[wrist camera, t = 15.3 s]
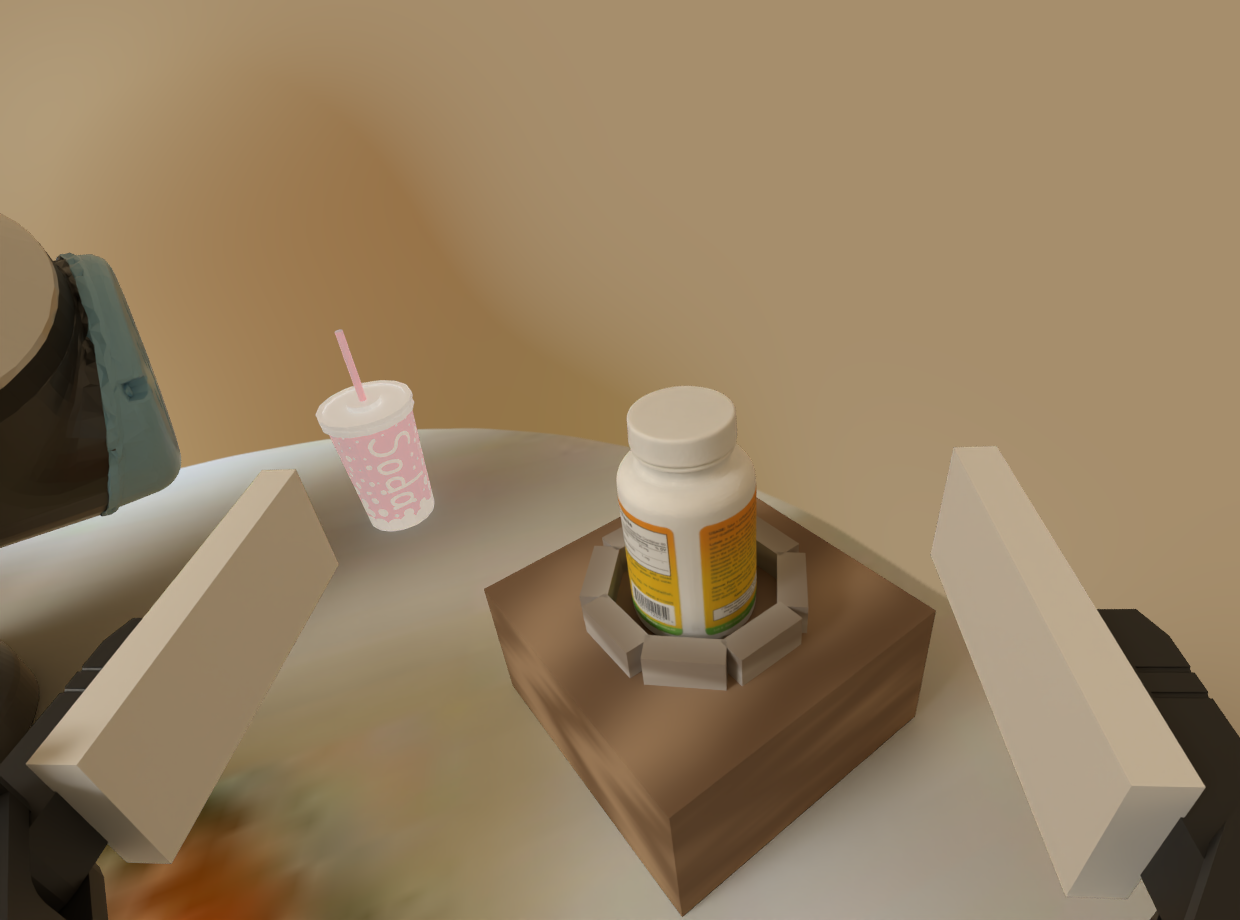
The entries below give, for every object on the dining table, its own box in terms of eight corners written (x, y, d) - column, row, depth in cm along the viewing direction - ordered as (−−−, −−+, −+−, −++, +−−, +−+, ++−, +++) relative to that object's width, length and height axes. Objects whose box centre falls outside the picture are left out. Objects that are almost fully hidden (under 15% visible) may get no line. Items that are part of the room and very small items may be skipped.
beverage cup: (360, 548, 48) (282, 362, 40) (358, 498, 53) (289, 324, 45) (450, 523, 49) (392, 338, 42) (440, 476, 54) (386, 303, 46)
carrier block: (512, 685, 37) (476, 565, 33) (715, 562, 43) (709, 446, 38) (682, 916, 27) (665, 792, 23) (914, 716, 33) (941, 584, 28)
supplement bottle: (752, 557, 33) (751, 371, 28) (761, 648, 29) (762, 448, 23) (637, 559, 34) (613, 379, 28) (628, 649, 29) (599, 455, 24)
